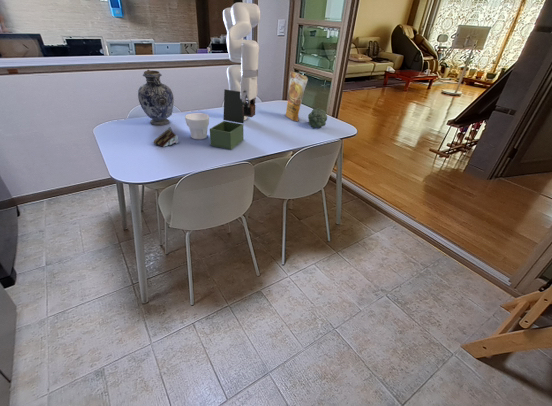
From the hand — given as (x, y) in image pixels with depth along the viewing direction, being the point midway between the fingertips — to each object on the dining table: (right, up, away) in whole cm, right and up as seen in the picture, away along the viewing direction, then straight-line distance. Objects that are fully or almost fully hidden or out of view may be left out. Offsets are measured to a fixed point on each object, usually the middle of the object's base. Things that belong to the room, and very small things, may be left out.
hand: (249, 112), depth 140 cm
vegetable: (+37, +5, +43) cm, 57 cm away
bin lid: (-9, +6, +8) cm, 14 cm away
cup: (-29, -8, +16) cm, 34 cm away
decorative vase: (-57, +4, +31) cm, 65 cm away
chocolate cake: (-42, -14, +6) cm, 45 cm away
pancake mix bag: (+24, +13, +54) cm, 61 cm away
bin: (-13, -12, +11) cm, 21 cm away
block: (0, -1, +1) cm, 1 cm away
